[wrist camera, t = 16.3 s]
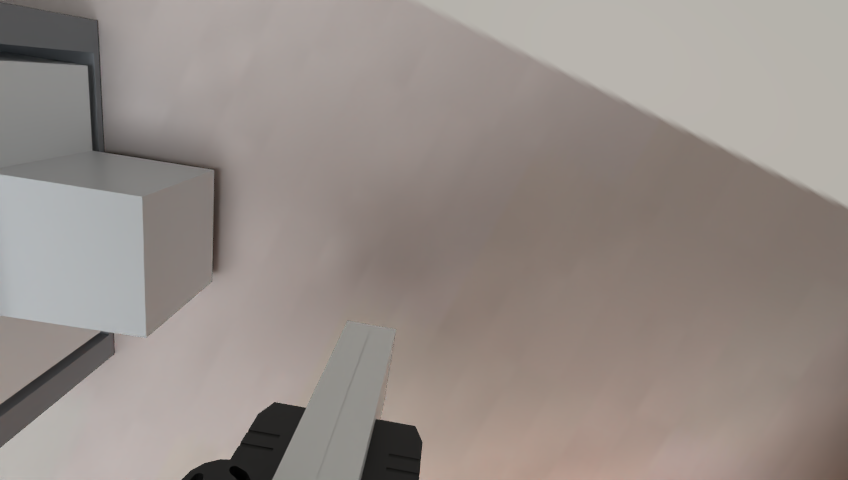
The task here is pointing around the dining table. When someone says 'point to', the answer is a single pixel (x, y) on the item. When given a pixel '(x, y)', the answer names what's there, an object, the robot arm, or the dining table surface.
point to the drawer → (85, 226)
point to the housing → (79, 45)
